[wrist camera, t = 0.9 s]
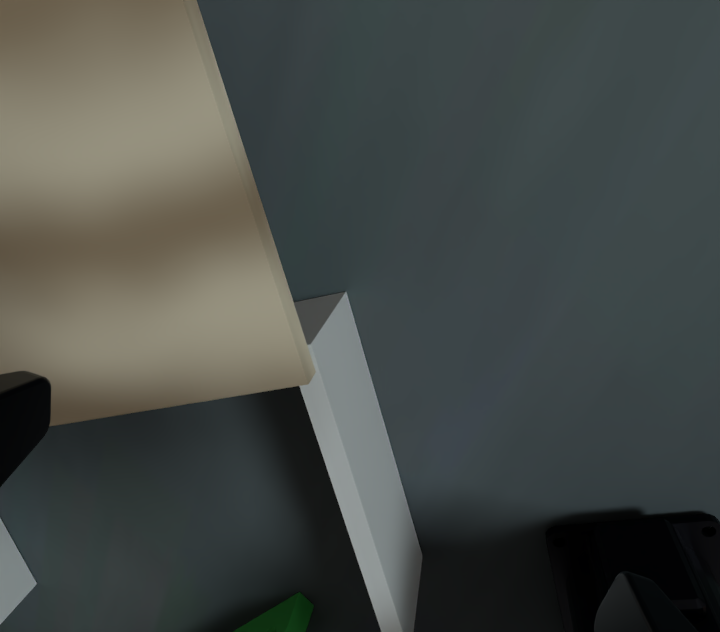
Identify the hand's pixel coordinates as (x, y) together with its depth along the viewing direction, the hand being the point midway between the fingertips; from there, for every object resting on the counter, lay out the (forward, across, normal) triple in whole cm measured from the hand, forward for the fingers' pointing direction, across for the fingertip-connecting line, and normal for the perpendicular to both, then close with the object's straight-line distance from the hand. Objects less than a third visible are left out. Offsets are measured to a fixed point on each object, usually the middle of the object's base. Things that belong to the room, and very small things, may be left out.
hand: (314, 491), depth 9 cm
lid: (+8, +15, +2) cm, 17 cm away
